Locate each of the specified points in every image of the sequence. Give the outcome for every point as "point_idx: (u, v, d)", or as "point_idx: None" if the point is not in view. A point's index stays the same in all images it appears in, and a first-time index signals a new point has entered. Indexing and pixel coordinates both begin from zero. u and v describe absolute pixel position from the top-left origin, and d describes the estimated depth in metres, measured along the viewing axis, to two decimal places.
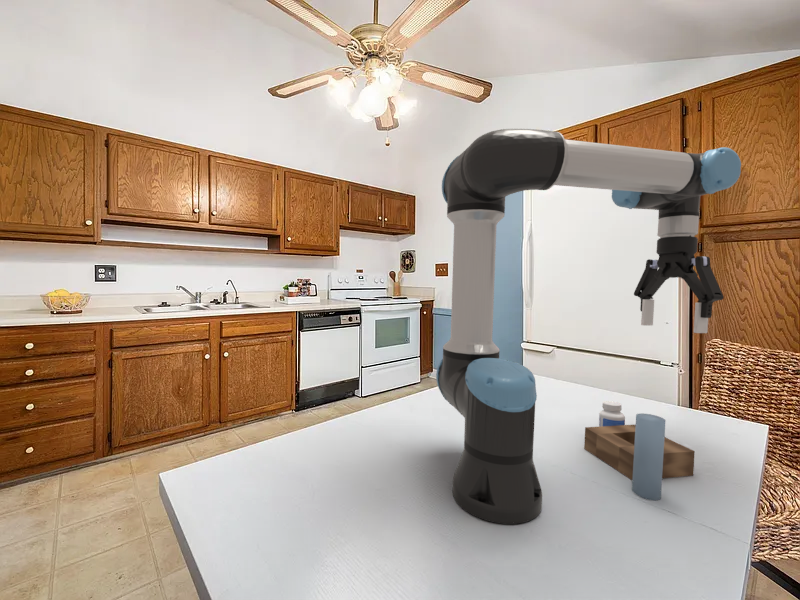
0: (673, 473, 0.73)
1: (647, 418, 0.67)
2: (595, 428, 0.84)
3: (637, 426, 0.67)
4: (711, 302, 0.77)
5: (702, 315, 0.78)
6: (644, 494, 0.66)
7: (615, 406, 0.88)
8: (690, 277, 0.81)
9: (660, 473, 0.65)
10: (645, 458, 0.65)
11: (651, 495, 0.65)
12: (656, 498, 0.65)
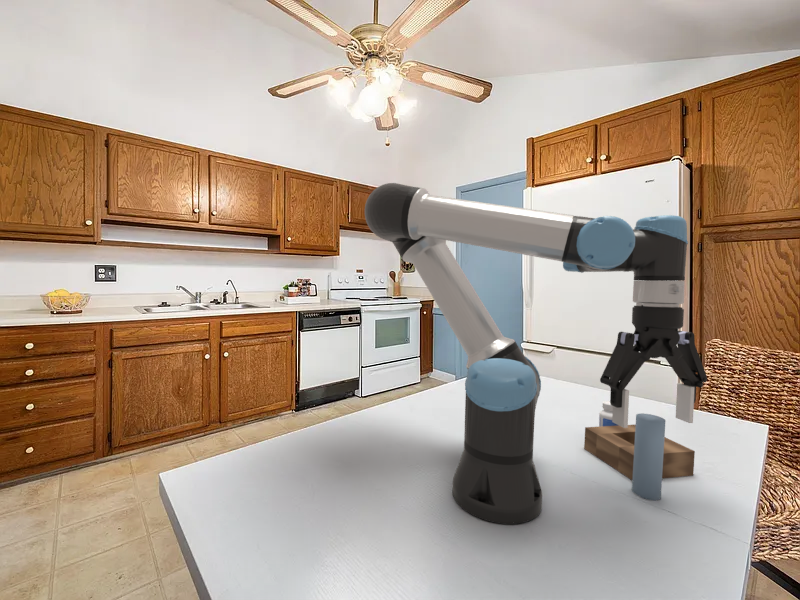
0: (673, 473, 0.73)
1: (647, 418, 0.67)
2: (595, 428, 0.84)
3: (637, 426, 0.67)
4: (613, 388, 0.64)
5: None
6: (644, 494, 0.66)
7: None
8: (629, 356, 0.66)
9: (660, 473, 0.65)
10: (645, 458, 0.65)
11: (651, 495, 0.65)
12: (656, 498, 0.65)
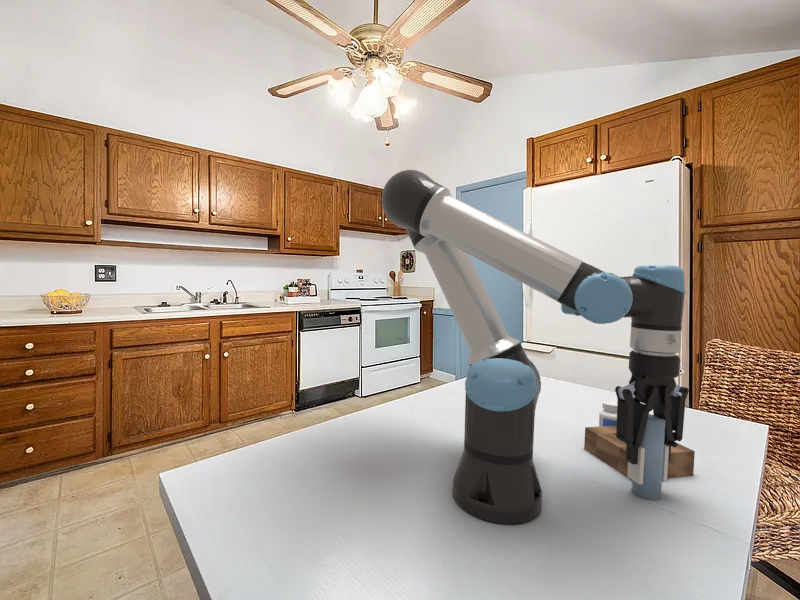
0: (673, 473, 0.73)
1: None
2: (595, 428, 0.84)
3: None
4: (629, 445, 0.66)
5: None
6: (644, 494, 0.66)
7: (615, 406, 0.88)
8: (633, 408, 0.67)
9: (660, 473, 0.65)
10: (645, 458, 0.65)
11: (651, 495, 0.65)
12: (656, 498, 0.65)
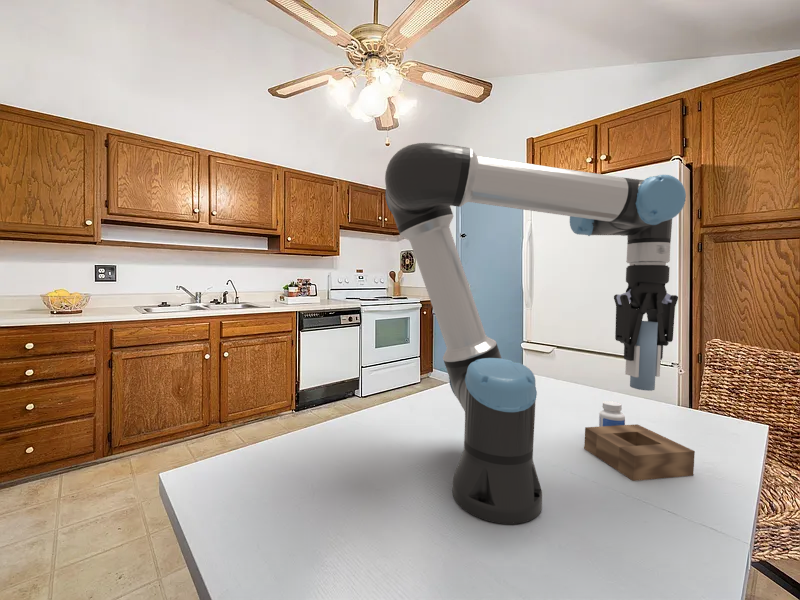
0: (673, 473, 0.73)
1: (642, 321, 0.77)
2: (595, 428, 0.84)
3: None
4: (627, 344, 0.77)
5: None
6: (640, 386, 0.77)
7: (615, 406, 0.88)
8: (630, 314, 0.78)
9: (653, 367, 0.76)
10: (640, 355, 0.76)
11: (646, 386, 0.76)
12: (650, 389, 0.76)
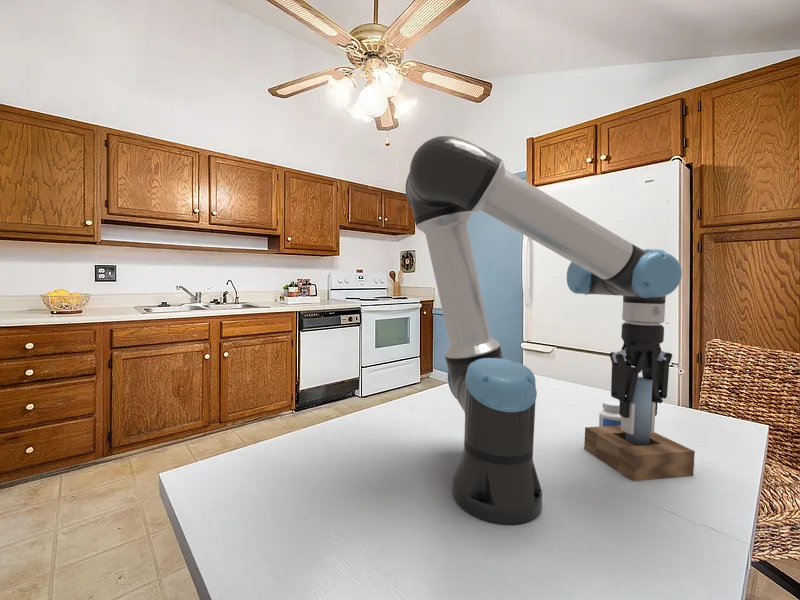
0: (673, 473, 0.73)
1: (637, 379, 0.79)
2: (595, 428, 0.84)
3: None
4: (622, 401, 0.78)
5: None
6: (635, 443, 0.78)
7: (615, 406, 0.88)
8: (625, 371, 0.79)
9: (648, 425, 0.77)
10: (635, 412, 0.78)
11: (641, 443, 0.77)
12: None
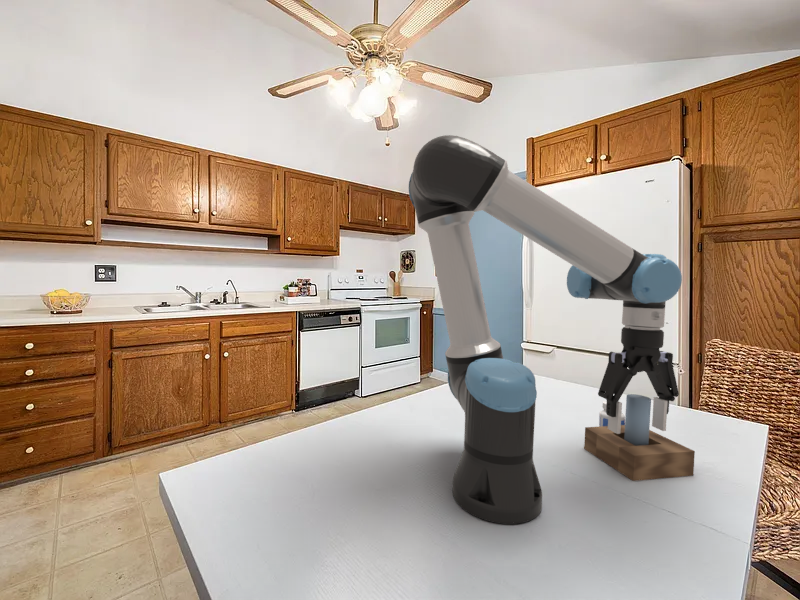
0: (673, 473, 0.73)
1: (635, 397, 0.79)
2: (595, 428, 0.84)
3: (627, 404, 0.79)
4: (609, 401, 0.77)
5: None
6: None
7: None
8: (620, 372, 0.79)
9: (646, 443, 0.77)
10: (634, 431, 0.78)
11: None
12: None
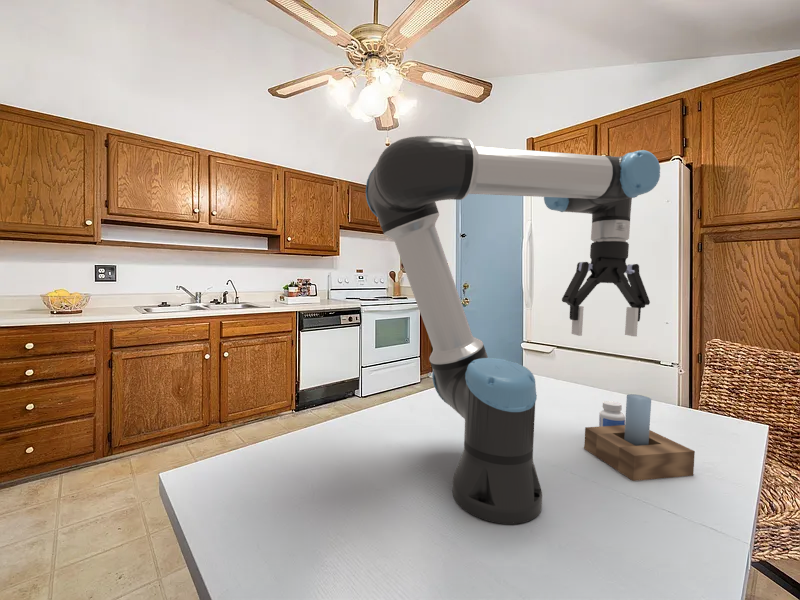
0: (673, 473, 0.73)
1: (635, 397, 0.79)
2: (595, 428, 0.84)
3: (627, 404, 0.79)
4: (571, 305, 0.82)
5: None
6: None
7: (615, 406, 0.88)
8: (586, 282, 0.84)
9: (646, 443, 0.77)
10: (634, 431, 0.78)
11: None
12: None
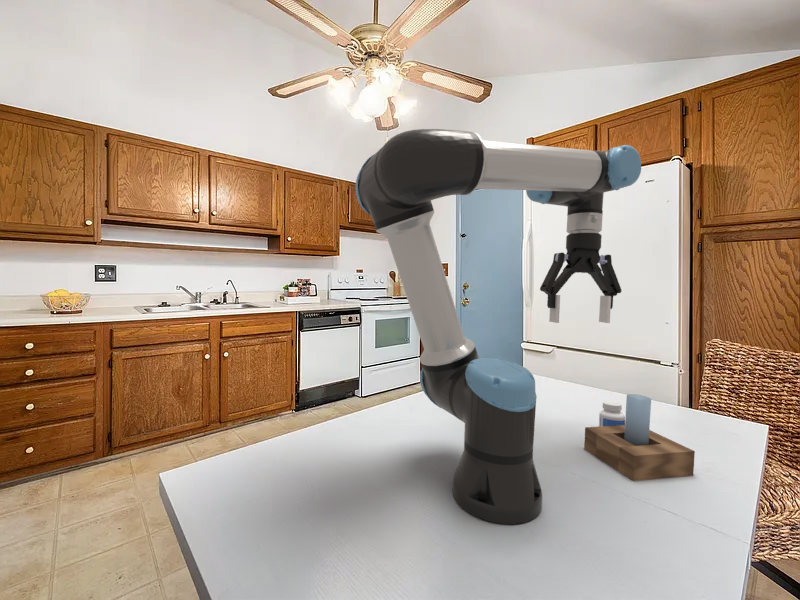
0: (673, 473, 0.73)
1: (635, 397, 0.79)
2: (595, 428, 0.84)
3: (627, 404, 0.79)
4: (549, 294, 0.87)
5: None
6: None
7: (615, 406, 0.88)
8: (562, 272, 0.88)
9: (646, 443, 0.77)
10: (634, 431, 0.78)
11: None
12: None
